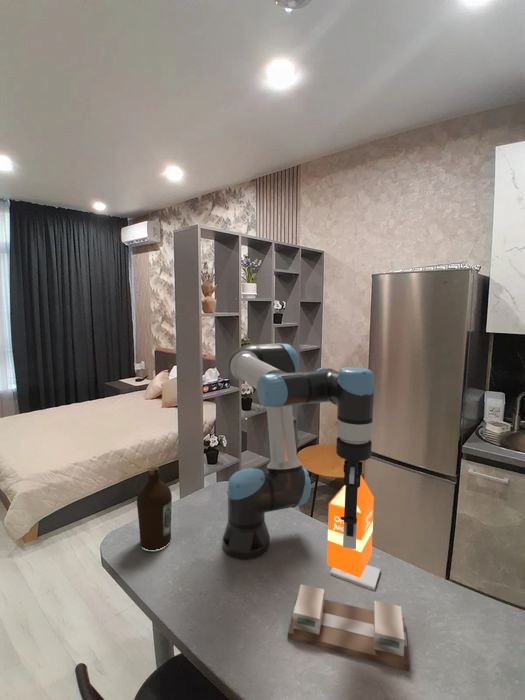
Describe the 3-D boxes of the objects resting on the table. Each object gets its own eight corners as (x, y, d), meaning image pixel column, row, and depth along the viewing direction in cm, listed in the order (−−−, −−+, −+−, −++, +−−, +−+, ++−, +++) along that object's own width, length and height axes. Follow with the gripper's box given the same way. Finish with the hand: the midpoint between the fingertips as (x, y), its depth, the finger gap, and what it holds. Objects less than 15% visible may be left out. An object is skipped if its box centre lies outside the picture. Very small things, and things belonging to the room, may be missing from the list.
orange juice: (372, 555, 85) (375, 473, 82) (360, 578, 77) (363, 489, 75) (340, 543, 89) (342, 465, 87) (326, 564, 82) (328, 480, 79)
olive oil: (133, 553, 112) (130, 476, 109) (145, 532, 122) (143, 461, 119) (167, 554, 111) (164, 477, 108) (176, 533, 122) (175, 462, 119)
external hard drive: (374, 593, 97) (330, 576, 103) (380, 573, 105) (338, 559, 110) (374, 587, 97) (330, 571, 103) (380, 568, 104) (338, 554, 110)
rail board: (287, 638, 83) (288, 616, 83) (297, 598, 95) (297, 579, 94) (408, 670, 76) (410, 647, 75) (403, 623, 87) (404, 602, 87)
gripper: (340, 421, 92) (338, 504, 94) (331, 455, 70) (328, 562, 73) (371, 424, 89) (368, 509, 92) (372, 460, 68) (367, 570, 71)
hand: (350, 532), depth 82 cm, fingers closed on orange juice, 10 cm apart
